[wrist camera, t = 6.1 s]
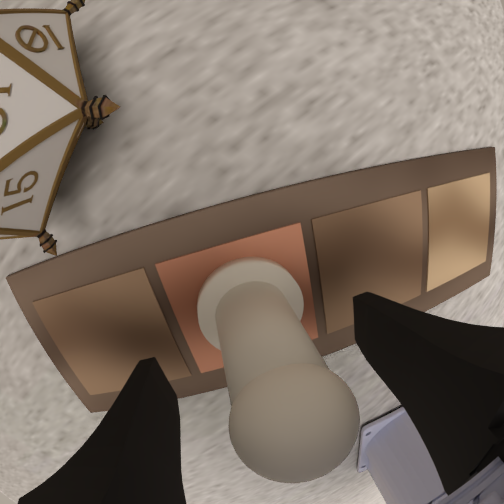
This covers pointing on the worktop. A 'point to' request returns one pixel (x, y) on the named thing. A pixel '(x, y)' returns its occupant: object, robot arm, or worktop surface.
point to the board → (271, 247)
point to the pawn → (275, 374)
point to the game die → (39, 115)
